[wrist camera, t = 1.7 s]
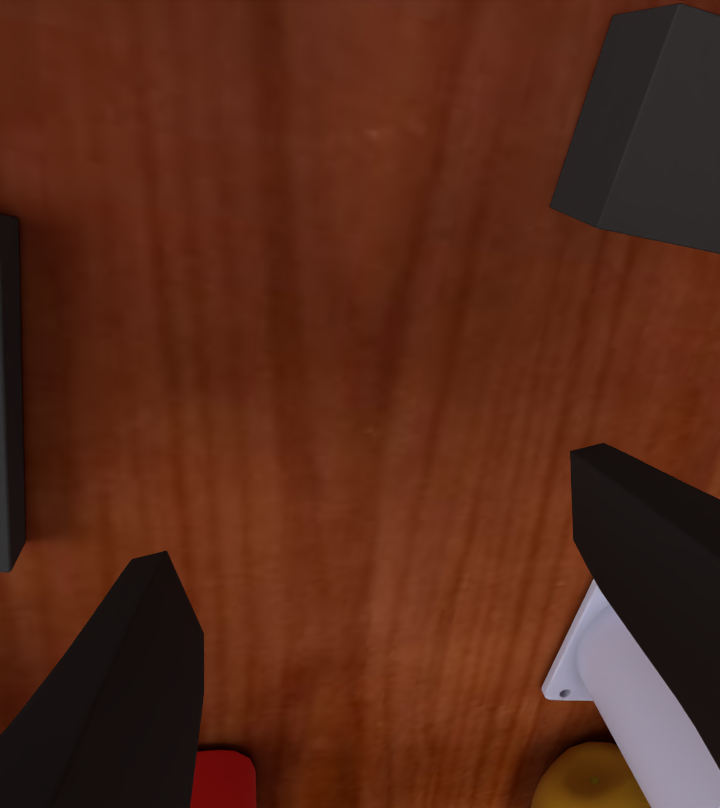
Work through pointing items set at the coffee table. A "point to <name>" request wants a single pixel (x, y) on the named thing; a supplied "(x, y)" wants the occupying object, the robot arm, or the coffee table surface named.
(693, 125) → the dark grey rectangular block
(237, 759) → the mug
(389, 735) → the coffee table surface
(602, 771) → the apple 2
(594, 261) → the coffee table surface
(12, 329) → the base pad
